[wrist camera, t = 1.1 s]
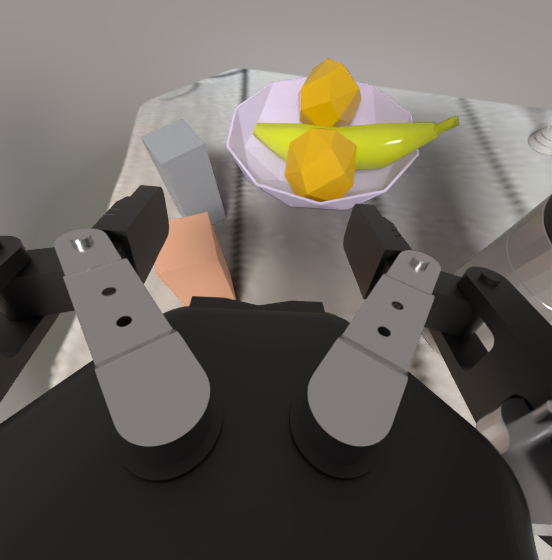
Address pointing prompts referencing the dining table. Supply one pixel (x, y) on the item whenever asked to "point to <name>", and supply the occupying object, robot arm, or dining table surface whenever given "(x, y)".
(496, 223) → the dining table surface
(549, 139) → the chalice
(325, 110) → the fruit bowl
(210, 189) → the grey block
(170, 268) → the terracotta block
